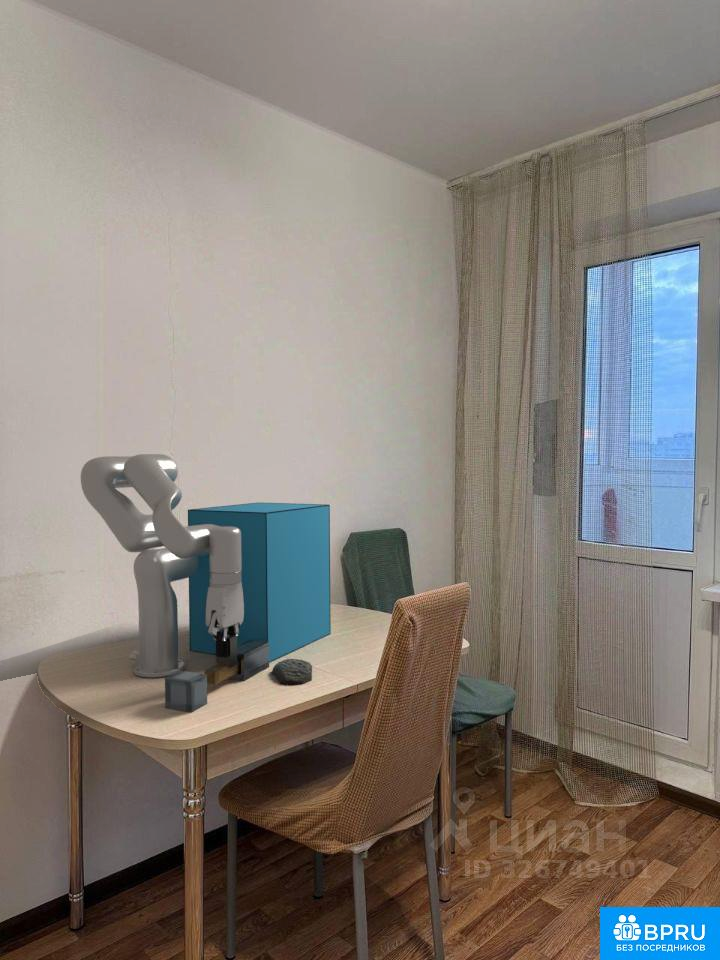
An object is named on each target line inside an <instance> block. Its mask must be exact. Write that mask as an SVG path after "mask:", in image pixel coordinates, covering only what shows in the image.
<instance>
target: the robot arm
mask: <svg viewBox="0 0 720 960" xmlns="http://www.w3.org/2000/svg"><path fill="white" fill-rule="evenodd" d="M178 473H179V469H178V466H177V464H176V462H175V460H174V459H172V458H171V456H169V455H167V454H161V453H160V454H157V453H156V454H155V453H152V454H151V453H145V454H144V453H142V454H135V455H132V456H131V455H130V456H111V455H110V456H98V457H94V458H91V459H89V460H88V461H86V462H85V464H83V466H82V468H81V471H80V486H81V491H82V492H83V495H84V497H85V499H86V500H87V502H88V503H89V504H90V505H91V506H92V508H93V509H94V510H95V511H96V512H97V513H98V515H99V516H100V517H101V518H102V519H103V520H104V522H105V524H106V525H107V527H108V529H109V530H110V531H111V533H112V534H113V535H114V537H115V539H116V540H117V541H118V543H119V544H120V546H121V547H122V548H123V549H124V550H126V551H127V552H129V553H139V554H138V555H137V556H136V557H135V559H134V561H133V574H134V579H135V583H136V589H137V600H138V601H137V602H138V650H132V651H131V653H130V655H129V656H128V659H129V661H135V662H136V663H135V665H134V666H133V667H132V668H133V669H132V673H133V674H134V675H135V676H138V677H141V678H163V677H169V676H171V675H173V674H175V673H177V672H179V671H184V669H185V666H186V665H185V662H184V661H182V660H180V659H179V630H178V629H179V628H178V627H179V626H178V625H179V621H178V619H179V618H178V617H179V616H178V598H177V594H176V592H175V591H174V588H173V587H172V584H171V583H174V582H176V581H182V580H185V579H189V577H190V576H192V575H193V574H194V573H195V572H196V571H197V568H198V556H203V555H208V554H210V586H209V588H208V593H207V602H206V626H207V627H209V630H208V633H209V634H211V635H213V636H214V640H216V655H215V657H216V656H217V657H225V658H227V657H228V640H226V639H227V634H230V635H237V636H238V634H239V628H240V625H241V624H242V622H243V618H244V598H243V589H242V555H241V531H240V529H239V528H237V527H229V526H225V527H221V526H217V525H213V524H203V525H194V526H188V525H186V526H184V525H183V524H182V523H181V522H180V521H179V520H178V519H177V517H176V515H174V513H173V510H174V509H176V508H177V506H178V505H179V504H180V502H181V500H182V497H183V492H182V490H181V489H180V487H179V486H178V485H177V484H176V483H175V481H176V480H177V478H178ZM120 488H121V489H123V488H133V489H134V490H135V491H136V493H137V494H138V495H139V496H140V498H141V499H142V500H143V501H144V502H145V503H146V504H147V506H148V507H149V508H150V509H151V510H152V514H144V513H143V512H141V511H140V510H139V509H138V508H137V507H136V506H135V504H134V502H133V501H132V500H131V498H129V497H128V496H126V495H125V494H124V493H123V492H121V491H119V490H118V489H120ZM219 625H220V626H219ZM219 630H222V633H221V632H220V631H219Z"/></svg>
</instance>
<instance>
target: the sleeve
mask: <svg viewBox="0 0 720 960" xmlns="http://www.w3.org/2000/svg"><path fill="white" fill-rule="evenodd" d="M237 658H241V671H240V672H238V673H236V674H234V675H232V676H230V677H228V678H226V679H227V680H228V679H229V680H234V681H243V682H245V681H247V680H248V679H250V678H252V677H254V676H256V675H257V674H259V673H261V672H263V671H264V670H266V669H268V668H270V663H269V642H265V641H256V640H249V641H247V642H245V643H243V644H241V645H238V646H237Z"/></svg>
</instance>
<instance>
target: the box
mask: <svg viewBox="0 0 720 960" xmlns="http://www.w3.org/2000/svg"><path fill="white" fill-rule="evenodd" d="M330 508H331V507H330V504H323V503H322V504H321V503H319V504H317V503H313V504H312V503H290V502H289V503H286V502H285V503H283V502H282V503H281V502H250V503H241V504H230V505H221V506H219V505H218V506H213V507H211V506H210V507H200V508H193V509H187V526H194V525H203V524H213V525H217V526H221V527H225V526H229V527H237V528H239V529H240V531H241V555H242V589H243V598H244V618H243V622H242V624H241V625H240V628H239V634H238V636H237V646H238V645H241V644H243V643H245V642H247V641H249V640H256V641H265V642H269V664H270V663H272V662H274V661H277V660H278V659H281V658H283V657H285V656H287V655H290V654H291V653H293V652H296V651H297V650H300V649H302V648H304V647H306V646H309V645H310V644H313V643H315V642H317V641H319V640H321V639H323V638H326V637H327V636H329V635H331V634H332V633H331V632H332V631H331V626H332V625H331V537H330V536H331V528H330V527H331V526H330V525H331V523H330V521H331V519H330V518H331V517H330V516H331V515H330V514H331V509H330ZM209 586H210V554H208V555H203V556H198V568H197V571H196V572H195V573H194V574H193V575H192V576H190V577H188V615H189V618H188V619H189V621H188V622H189V626H188V628H189V629H188V630H189V651H190V652H194V653H200V654H207V655H213V656H216V640H214V636H213V635H211V634H209V633H208V630H209V627H207V626H206V602H207V593H208V588H209ZM219 626H220V625H219ZM219 631H220V632H221V633H222V630H219Z"/></svg>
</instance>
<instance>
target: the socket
mask: <svg viewBox="0 0 720 960" xmlns="http://www.w3.org/2000/svg"><path fill="white" fill-rule="evenodd" d="M164 699H165V700H164V701H165V702H164V703H165V705H164V708H165V709H171V710H175V711H182V712H186V713H187V712H188V713H193V712H195V711H197V710H198V709H201V708H202V707H204V706H206V705H207V704H208V684H207V674H204V673H199V672H191V671H185V670H182V671H179V672H177V673H175V674H173V675H169V676H165V678H164Z"/></svg>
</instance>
